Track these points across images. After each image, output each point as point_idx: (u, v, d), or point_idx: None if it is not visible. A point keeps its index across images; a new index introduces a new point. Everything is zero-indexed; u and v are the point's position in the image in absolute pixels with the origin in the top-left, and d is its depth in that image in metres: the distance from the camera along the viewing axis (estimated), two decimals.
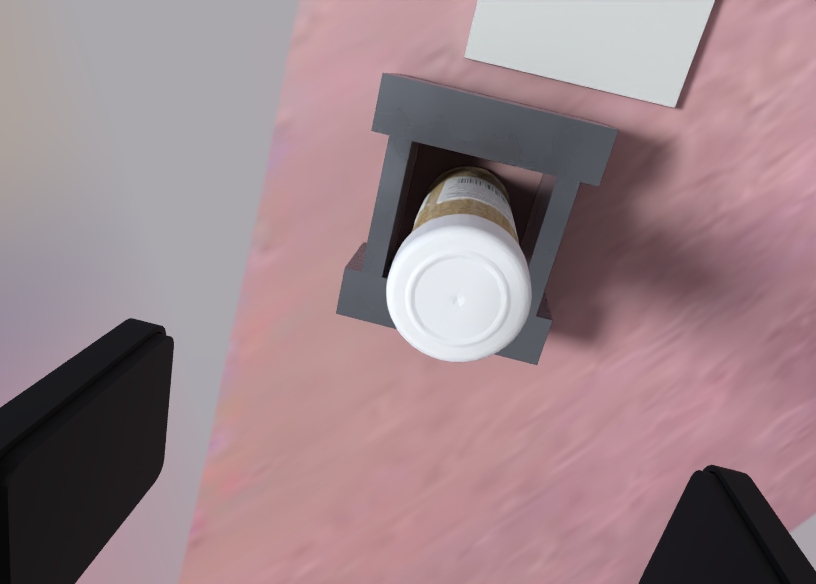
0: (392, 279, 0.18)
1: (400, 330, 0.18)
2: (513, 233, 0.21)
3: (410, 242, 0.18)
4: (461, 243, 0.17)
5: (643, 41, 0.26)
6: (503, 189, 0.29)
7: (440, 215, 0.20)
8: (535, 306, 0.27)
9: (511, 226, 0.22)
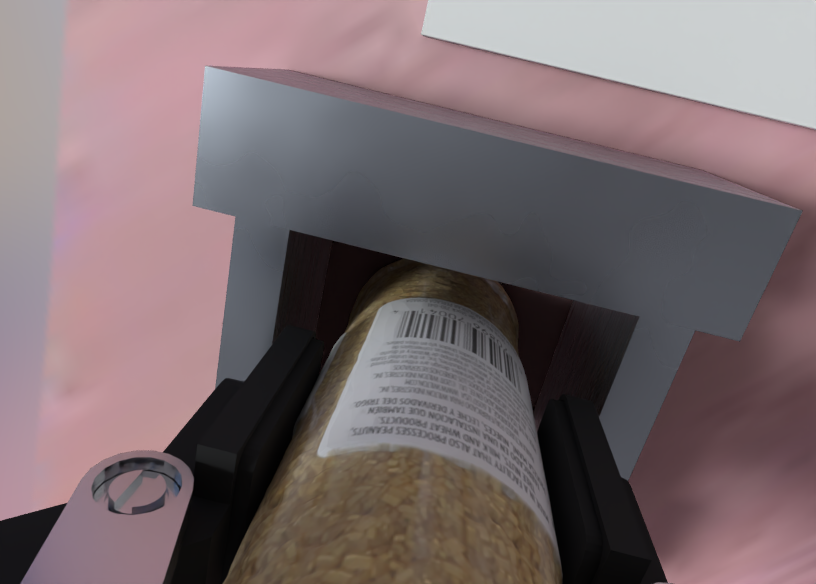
0: None
1: None
2: (549, 565, 0.07)
3: None
4: None
5: None
6: (505, 302, 0.14)
7: None
8: None
9: (540, 526, 0.07)
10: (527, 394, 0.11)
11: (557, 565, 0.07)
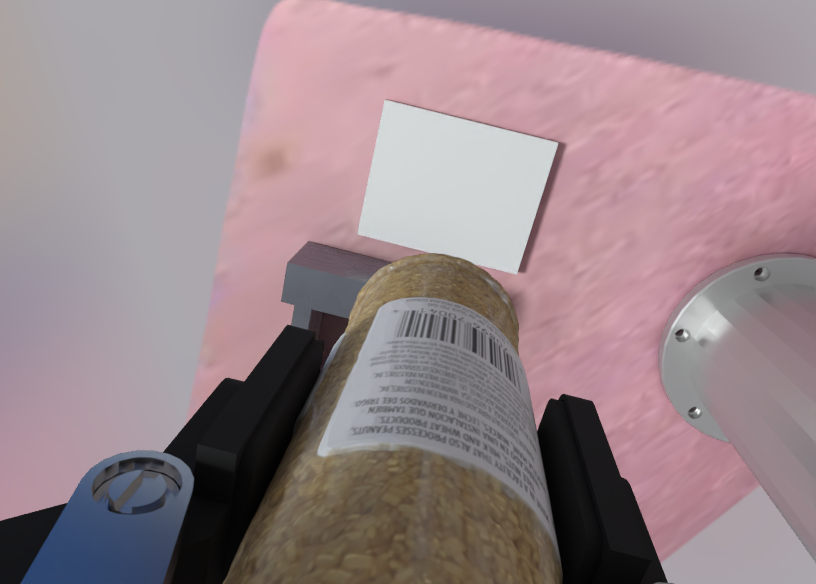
0: None
1: None
2: (549, 565, 0.07)
3: None
4: None
5: (489, 228, 0.35)
6: (505, 302, 0.14)
7: None
8: None
9: (540, 526, 0.07)
10: (527, 394, 0.11)
11: (557, 564, 0.07)
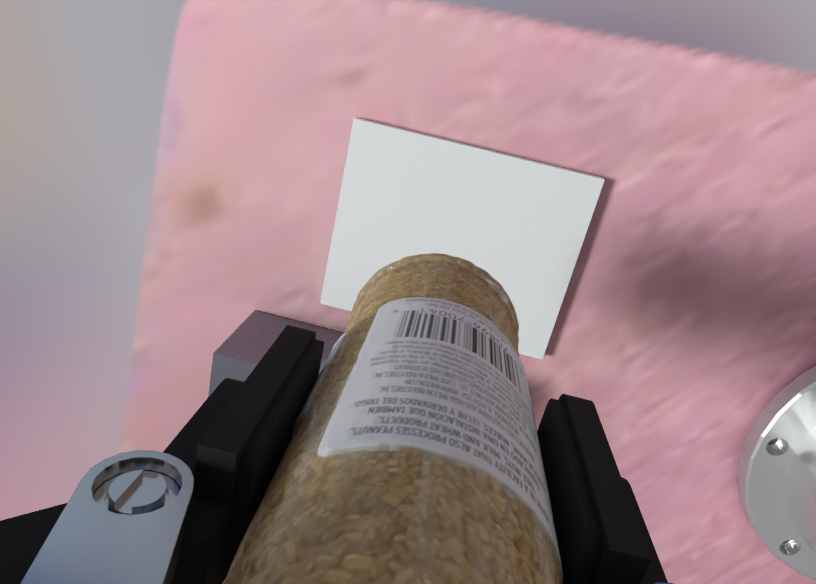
0: None
1: None
2: (549, 565, 0.07)
3: None
4: None
5: None
6: (505, 302, 0.14)
7: None
8: None
9: (541, 526, 0.07)
10: (527, 394, 0.11)
11: (557, 565, 0.07)
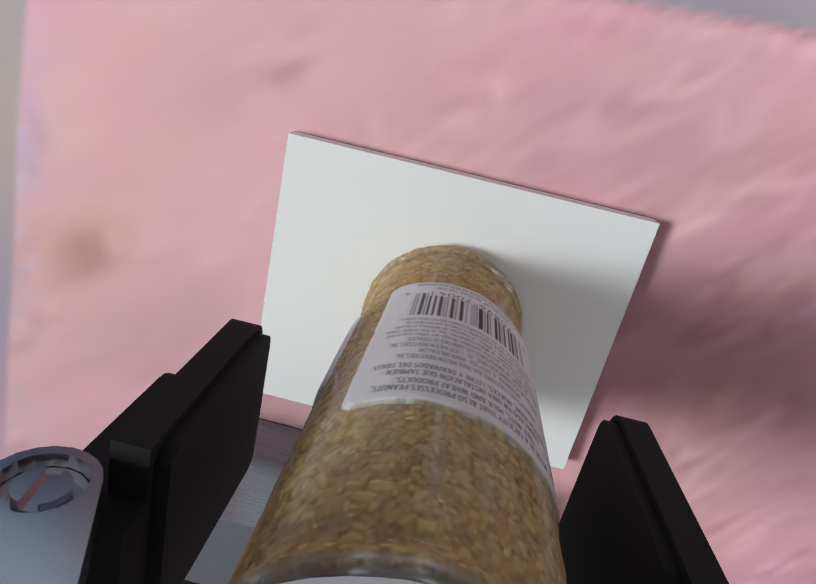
0: None
1: None
2: (546, 504, 0.08)
3: None
4: None
5: None
6: (509, 291, 0.15)
7: (322, 511, 0.06)
8: None
9: (539, 473, 0.08)
10: (529, 369, 0.12)
11: (554, 508, 0.08)
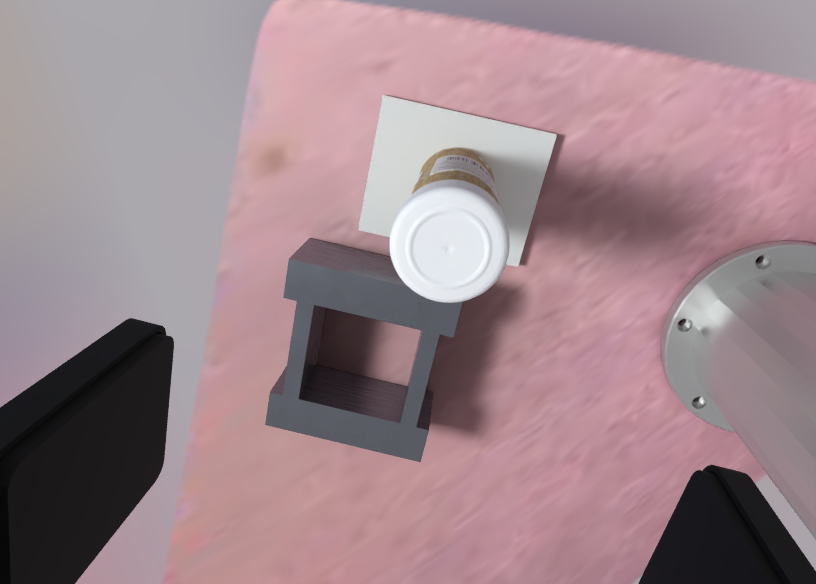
0: (394, 233, 0.22)
1: (402, 276, 0.22)
2: (495, 198, 0.25)
3: (409, 202, 0.21)
4: (450, 201, 0.21)
5: None
6: (487, 167, 0.33)
7: None
8: (415, 420, 0.35)
9: (493, 193, 0.26)
10: (494, 185, 0.29)
11: (498, 206, 0.26)
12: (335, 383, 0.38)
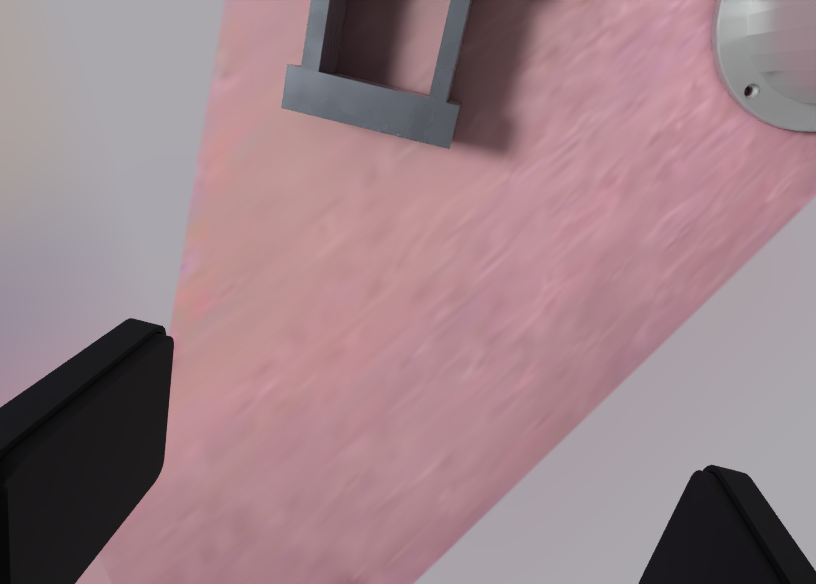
0: None
1: None
2: None
3: None
4: None
5: None
6: None
7: None
8: (445, 93, 0.32)
9: None
10: None
11: None
12: (357, 79, 0.35)
